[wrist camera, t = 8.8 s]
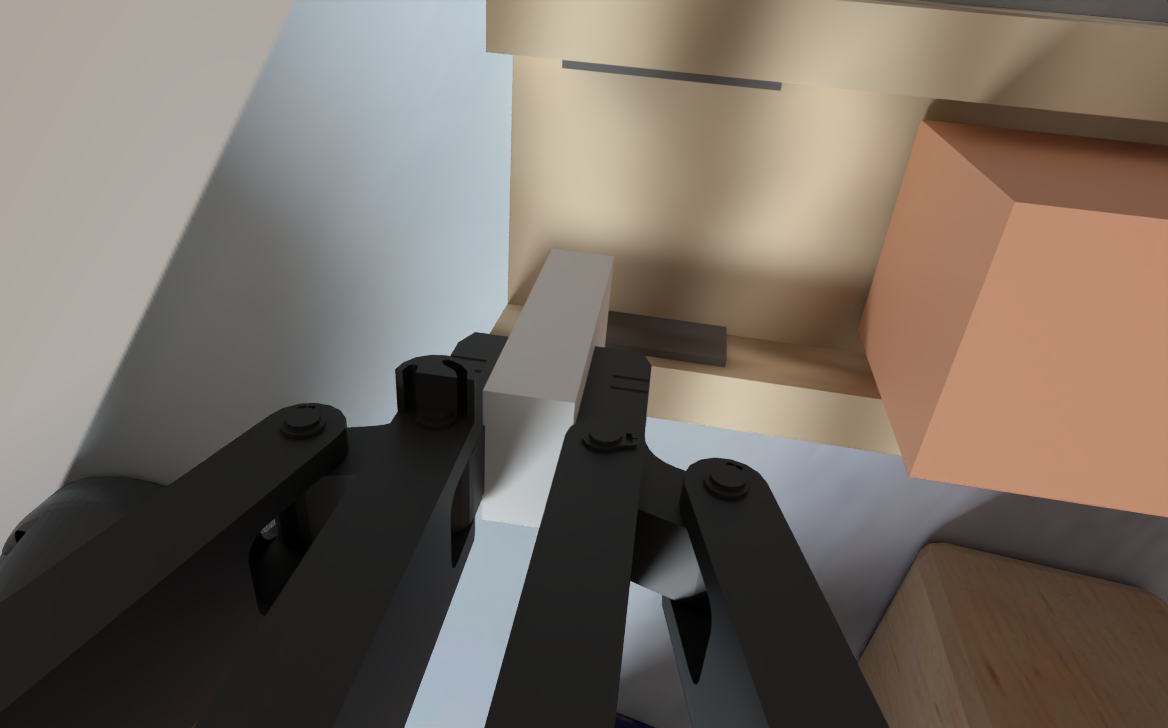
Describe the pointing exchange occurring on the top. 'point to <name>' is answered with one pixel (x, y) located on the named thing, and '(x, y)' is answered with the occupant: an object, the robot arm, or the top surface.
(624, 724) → the bottle
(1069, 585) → the wooden block
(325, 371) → the top surface
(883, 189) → the wooden tray
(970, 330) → the terracotta block
